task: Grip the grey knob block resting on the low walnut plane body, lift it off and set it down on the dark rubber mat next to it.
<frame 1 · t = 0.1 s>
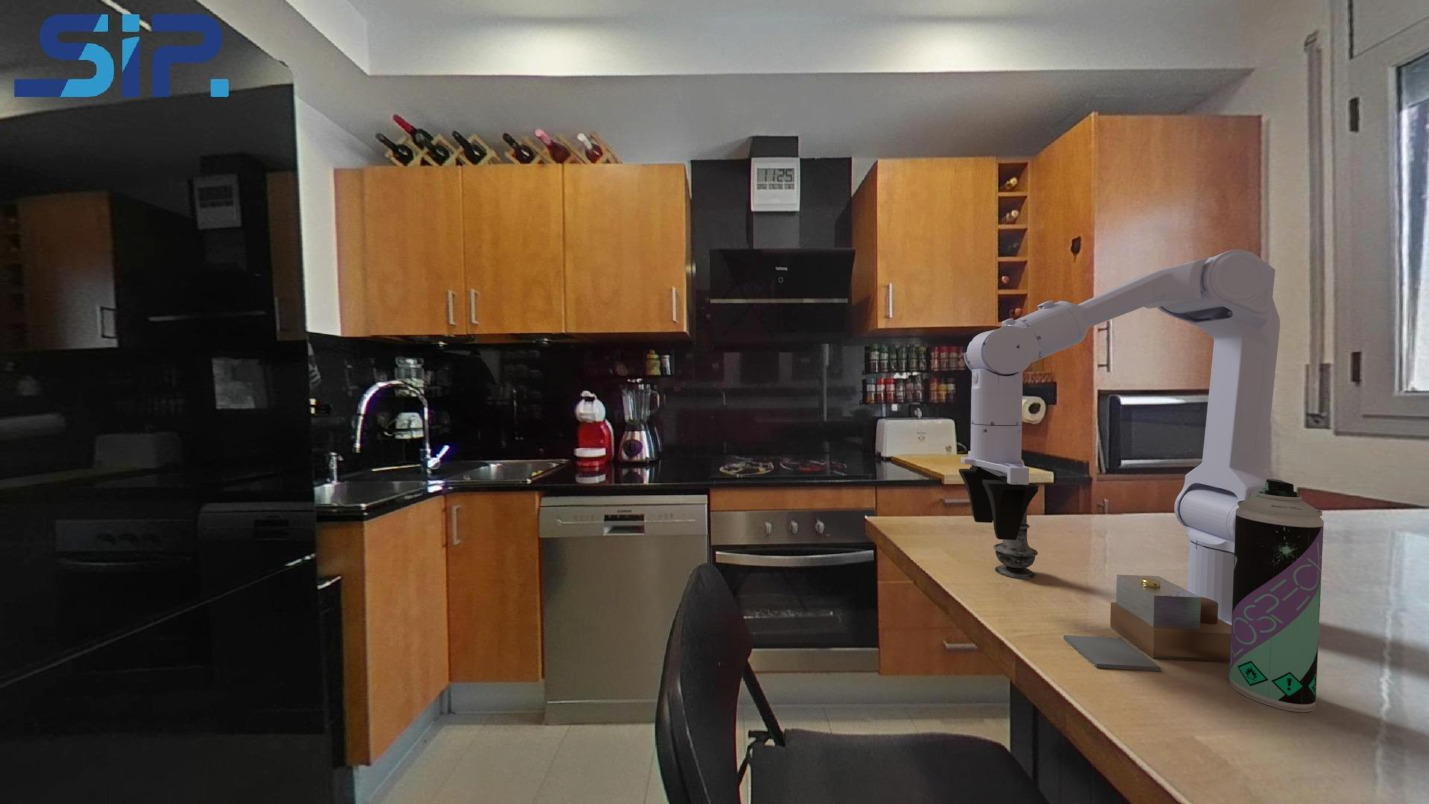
hand: (994, 530, 67), 10 cm above the table, tool pointing down, fingers open, 7 cm apart
spray can: (1270, 696, 48), on the table
salt shaker: (1014, 573, 79), on the table
mat: (1109, 653, 56), on the table
plane body: (1174, 643, 58), on the table
grey knob block: (1155, 616, 58), point 3 cm above the table, touching plane body
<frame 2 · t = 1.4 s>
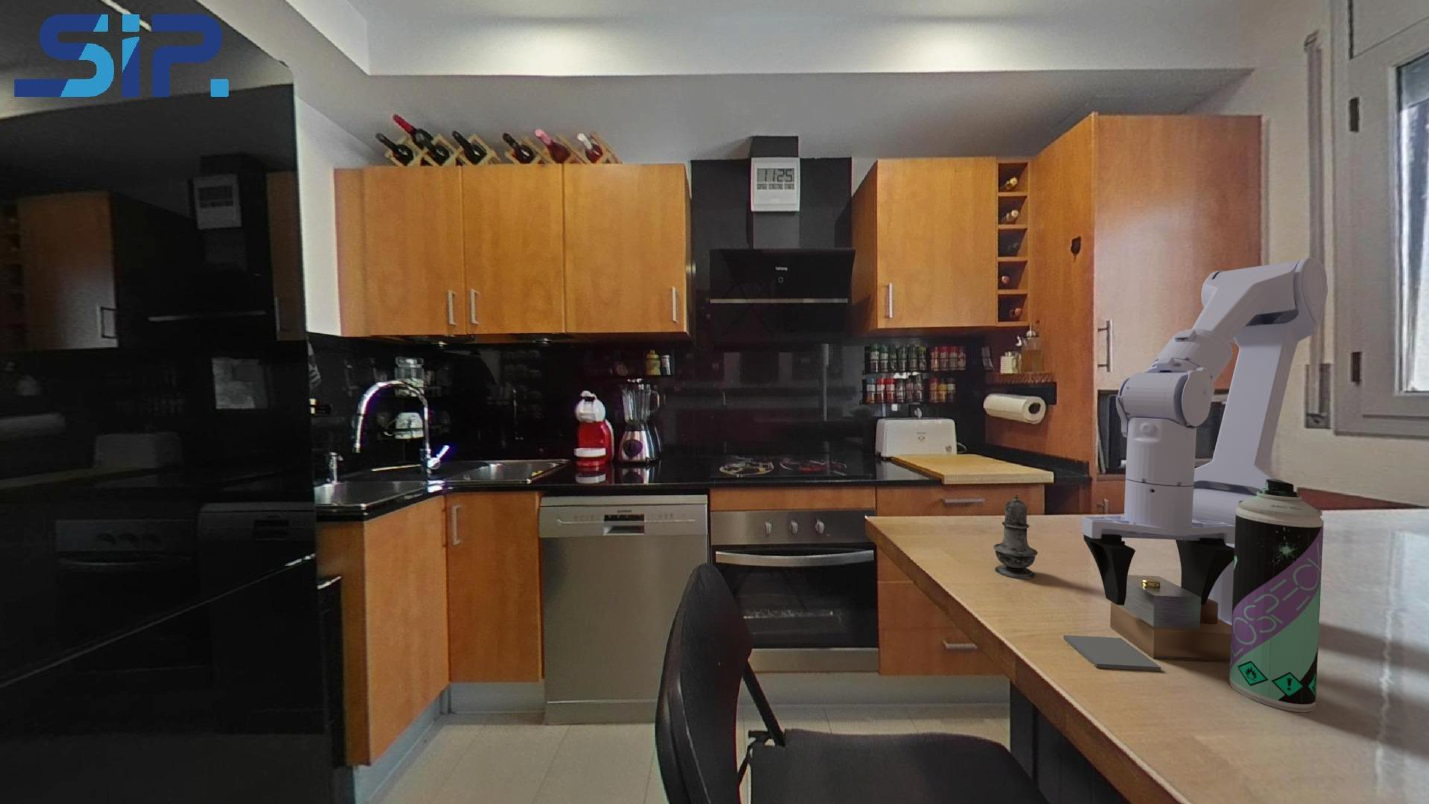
hand: (1153, 603, 58), 4 cm above the table, tool pointing down, fingers open, 7 cm apart
nothing on the table moved.
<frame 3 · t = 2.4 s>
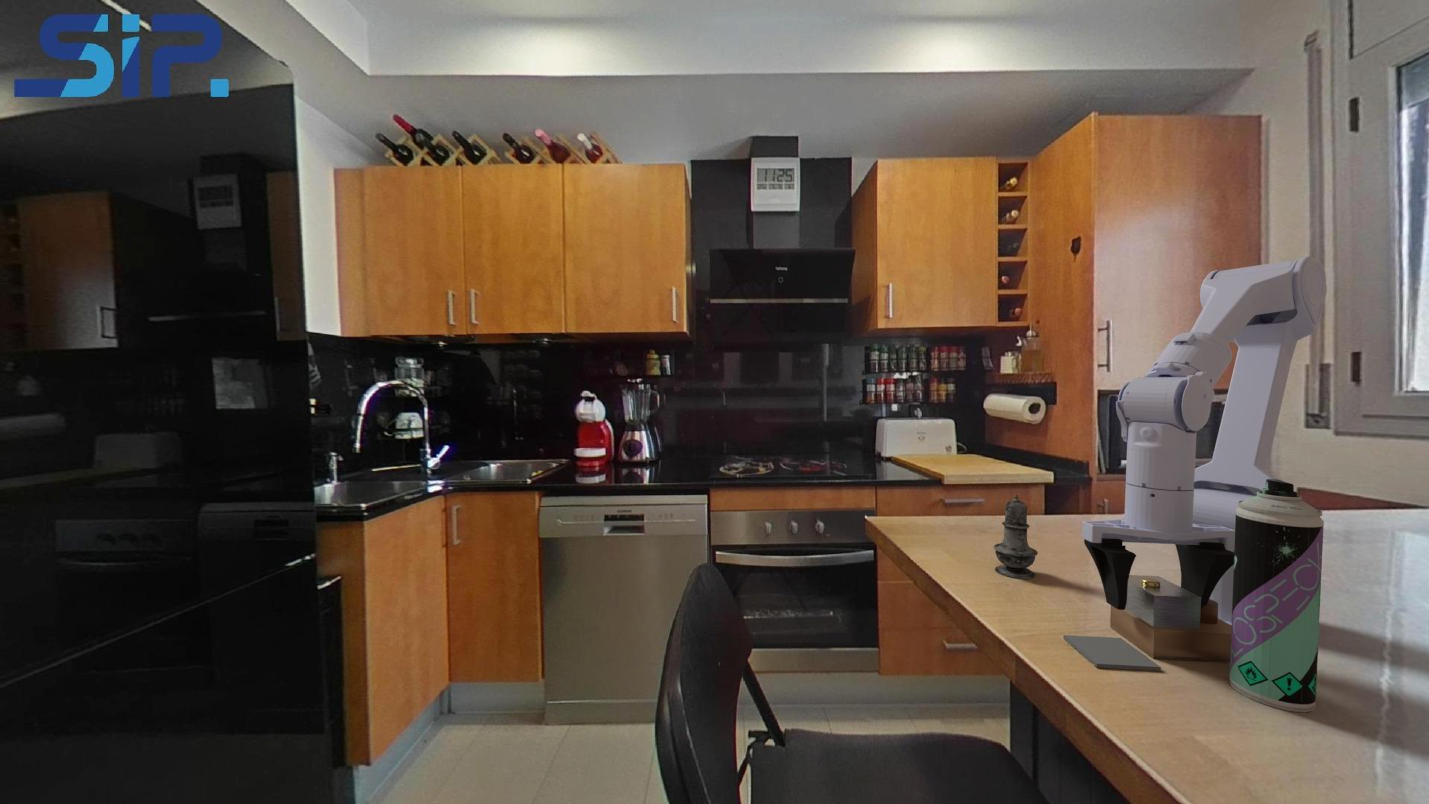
hand: (1153, 607, 58), 4 cm above the table, tool pointing down, fingers open, 7 cm apart
nothing on the table moved.
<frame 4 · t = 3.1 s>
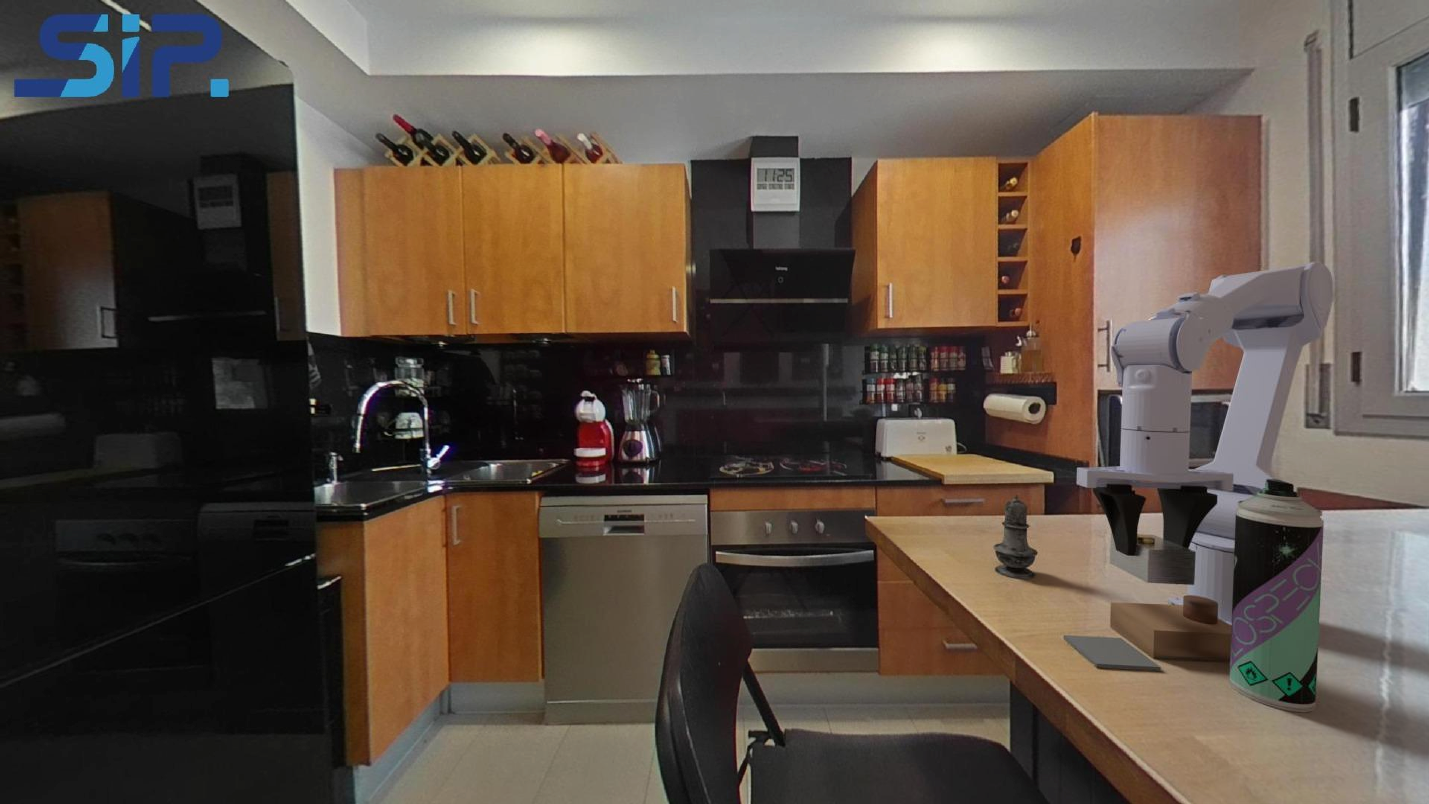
hand: (1150, 553, 57), 10 cm above the table, tool pointing down, fingers closed on grey knob block, 4 cm apart
grey knob block: (1149, 573, 57), point 8 cm above the table, touching gripper
everything else where it was.
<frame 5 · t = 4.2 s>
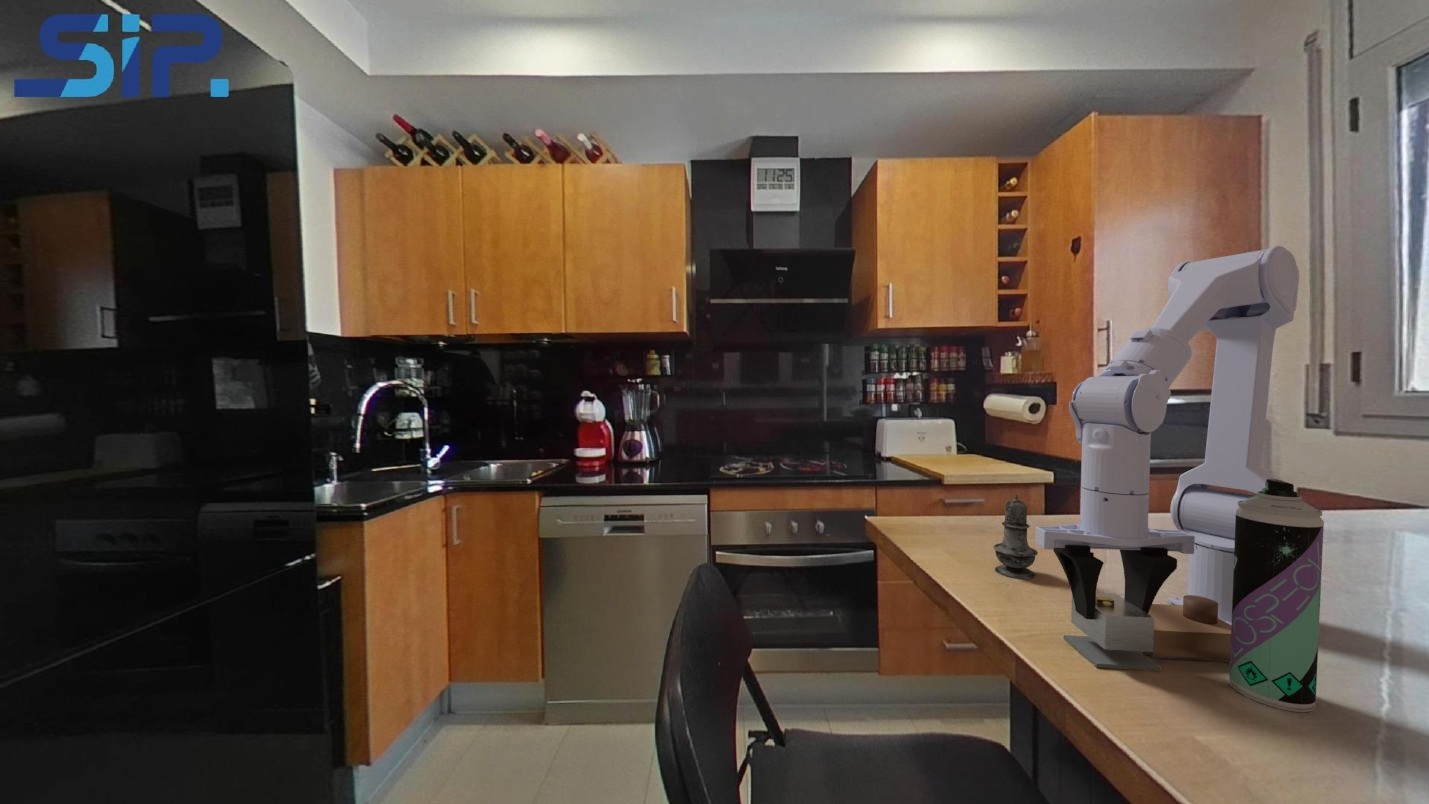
hand: (1110, 616, 55), 4 cm above the table, tool pointing down, fingers closed on grey knob block, 4 cm apart
grey knob block: (1109, 636, 55), point 2 cm above the table, touching gripper
everything else where it was.
when the fingers open (2 cm above the table, at t = 5.0 s): grey knob block stays where it is, resting on mat.
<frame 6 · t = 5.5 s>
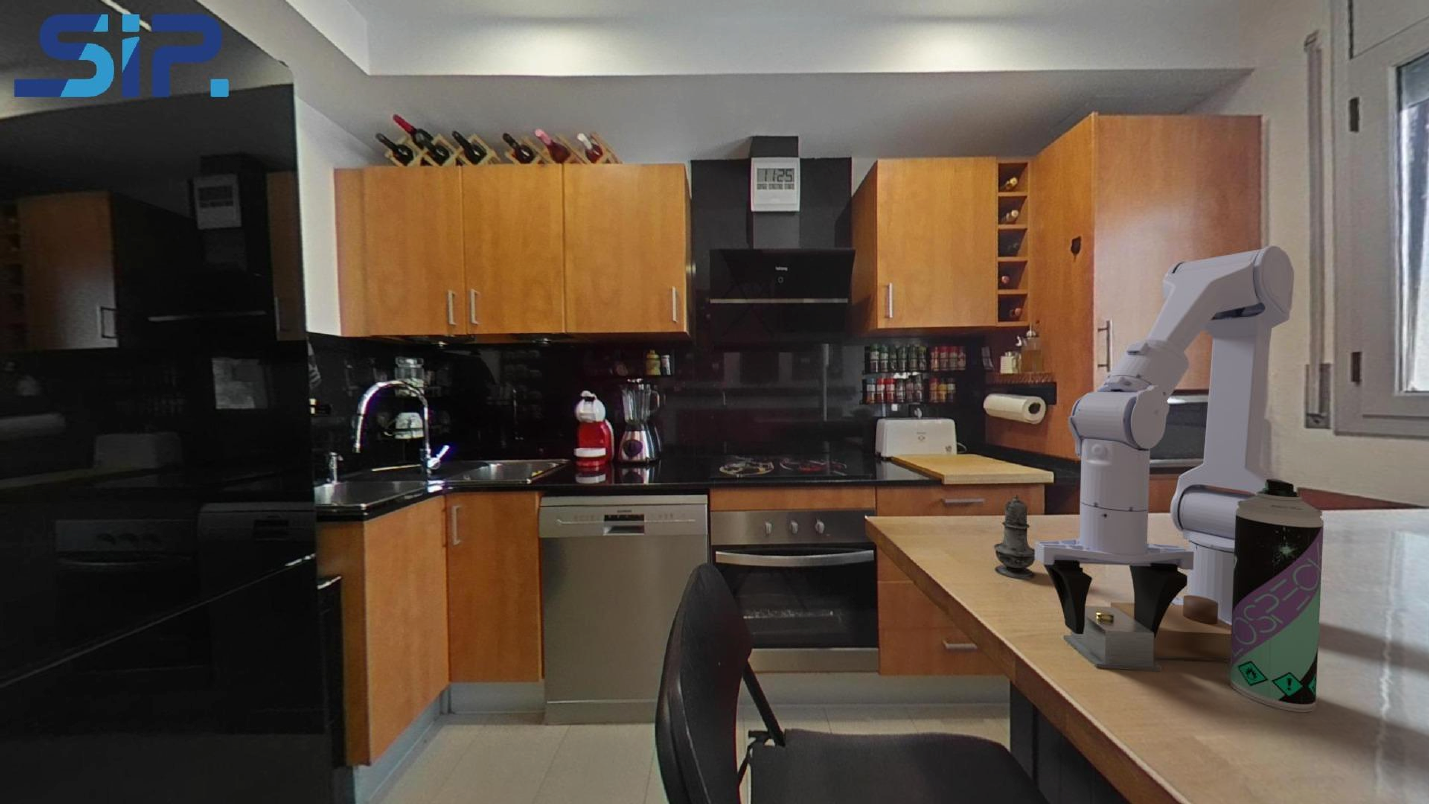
hand: (1109, 631, 56), 2 cm above the table, tool pointing down, fingers open, 6 cm apart
grey knob block: (1109, 650, 56), resting on mat
everything else where it was.
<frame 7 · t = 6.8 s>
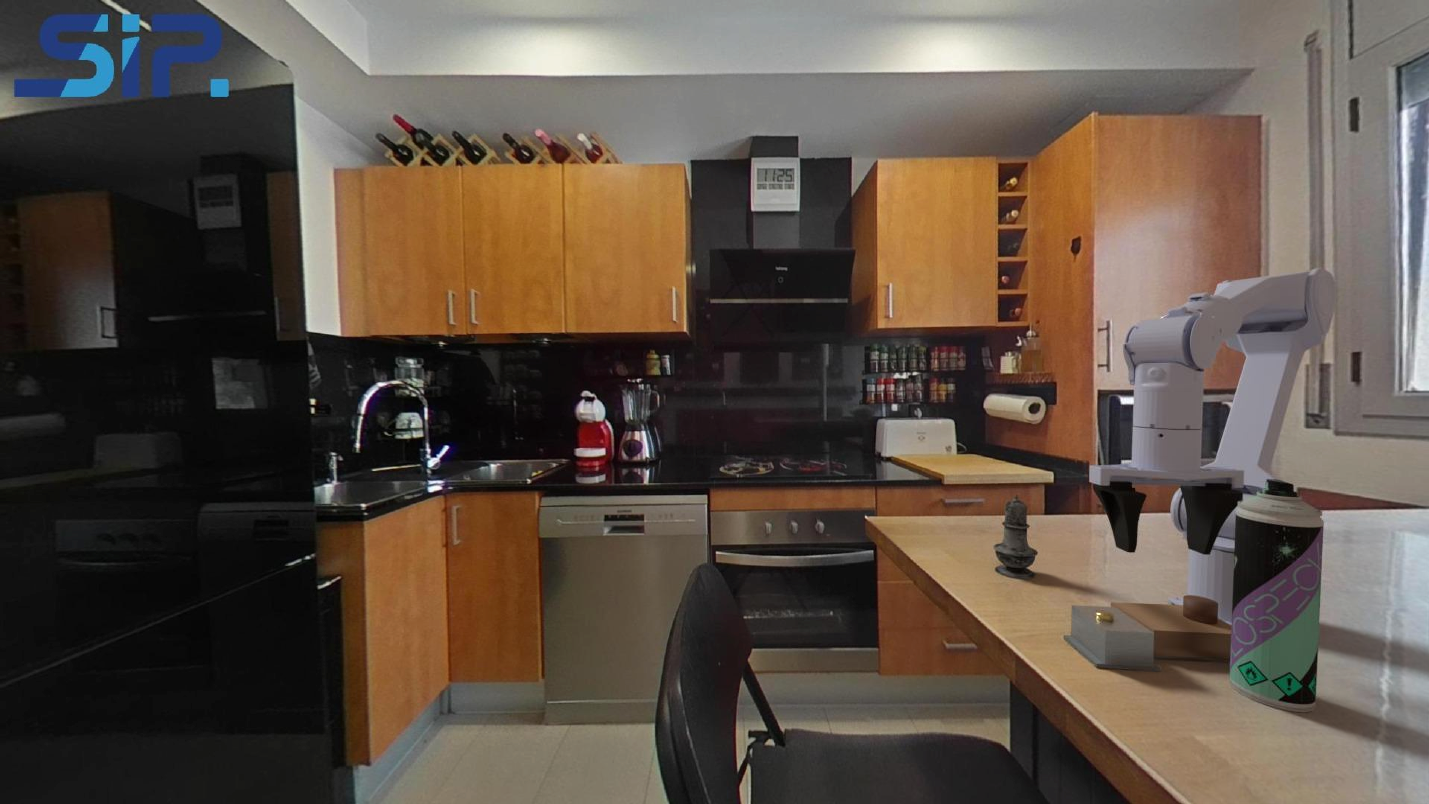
hand: (1161, 550, 57), 10 cm above the table, tool pointing down, fingers open, 7 cm apart
nothing on the table moved.
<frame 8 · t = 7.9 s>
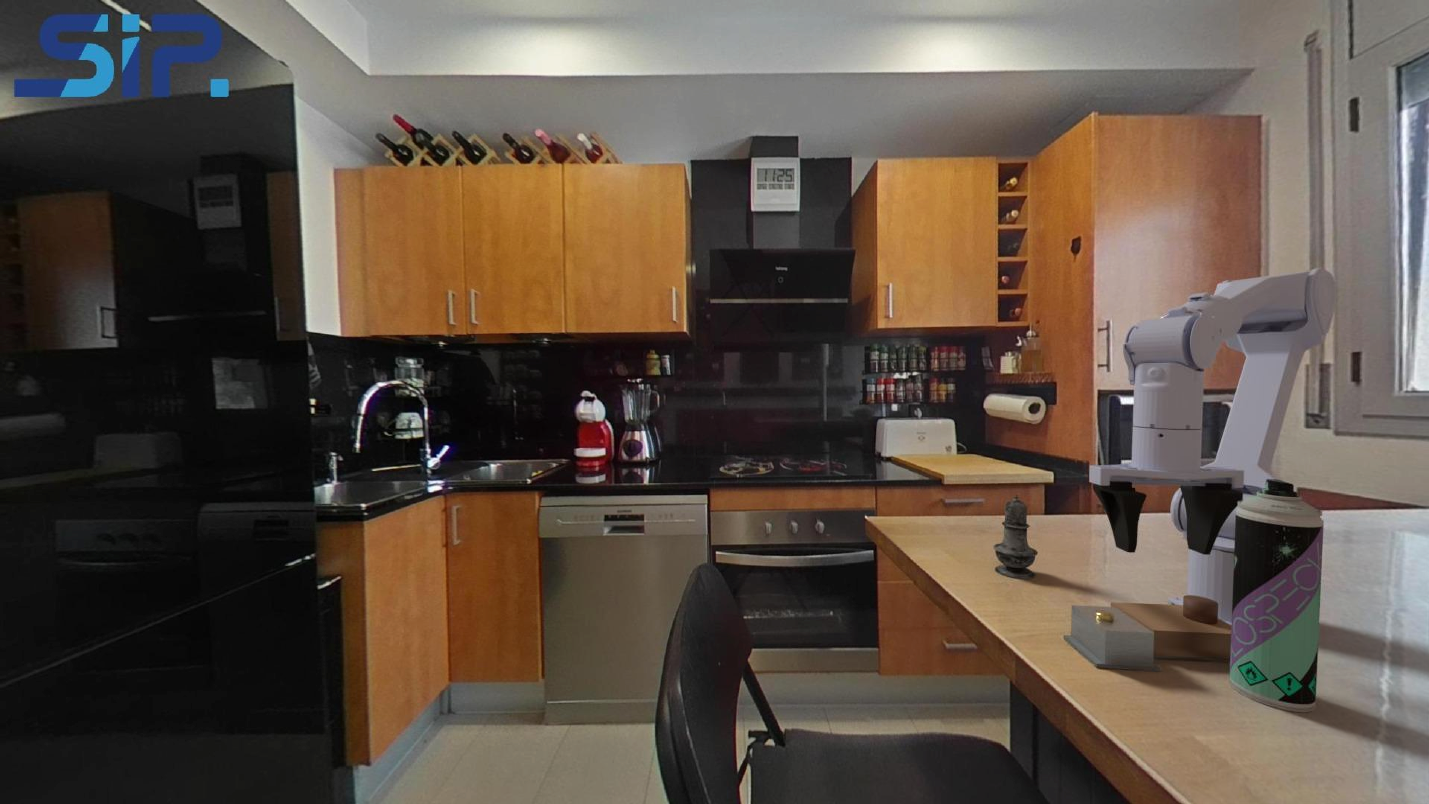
hand: (1161, 550, 57), 10 cm above the table, tool pointing down, fingers open, 7 cm apart
nothing on the table moved.
at the end: grey knob block inside the target area on the mat (0.1 cm from its centre), point 0.4 cm above the mat's base; grey knob block tilted 0°; the gripper is holding nothing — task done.
